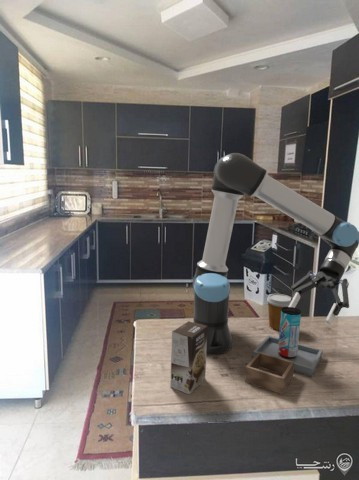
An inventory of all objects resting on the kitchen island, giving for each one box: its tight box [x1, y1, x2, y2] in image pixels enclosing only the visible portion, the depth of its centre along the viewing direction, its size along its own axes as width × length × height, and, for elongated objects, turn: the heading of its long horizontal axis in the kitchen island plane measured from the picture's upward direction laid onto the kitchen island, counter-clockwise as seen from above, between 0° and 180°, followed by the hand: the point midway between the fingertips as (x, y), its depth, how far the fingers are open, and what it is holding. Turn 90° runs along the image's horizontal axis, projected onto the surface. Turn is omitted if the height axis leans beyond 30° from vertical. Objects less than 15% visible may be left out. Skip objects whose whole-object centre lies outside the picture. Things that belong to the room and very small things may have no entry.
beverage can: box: [278, 307, 302, 359], centre depth 111 cm, size 6×6×15 cm
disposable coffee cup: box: [266, 293, 292, 331], centre depth 135 cm, size 10×10×12 cm
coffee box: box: [169, 320, 208, 395], centre depth 96 cm, size 9×6×16 cm
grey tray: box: [252, 335, 323, 378], centre depth 112 cm, size 18×14×2 cm
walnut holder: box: [244, 352, 295, 395], centre depth 100 cm, size 11×11×4 cm
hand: (308, 315), depth 117 cm, fingers open, 13 cm apart
